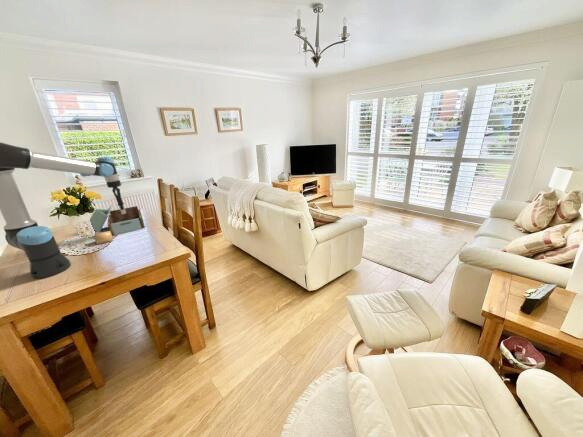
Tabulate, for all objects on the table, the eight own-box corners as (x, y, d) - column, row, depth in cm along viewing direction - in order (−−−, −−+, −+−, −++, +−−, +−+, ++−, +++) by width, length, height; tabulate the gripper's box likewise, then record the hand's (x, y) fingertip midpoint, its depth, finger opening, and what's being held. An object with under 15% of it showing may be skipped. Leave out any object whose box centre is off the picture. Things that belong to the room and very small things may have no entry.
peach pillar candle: (97, 246, 148) (93, 236, 146) (98, 242, 154) (94, 232, 151) (113, 242, 152) (109, 233, 150) (113, 238, 158) (109, 229, 155)
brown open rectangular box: (111, 236, 161) (105, 220, 156) (112, 226, 178) (107, 211, 173) (145, 229, 171) (140, 213, 166) (143, 220, 188) (138, 205, 183)
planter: (87, 222, 174) (99, 198, 175) (100, 225, 180) (112, 202, 180) (85, 229, 162) (98, 203, 162) (99, 233, 167) (112, 208, 167)
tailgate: (114, 235, 160) (110, 224, 157) (114, 234, 161) (110, 223, 158) (141, 229, 168) (138, 218, 165) (141, 228, 169) (138, 218, 166)
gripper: (119, 181, 154) (130, 215, 163) (119, 178, 164) (130, 209, 173) (105, 183, 150) (117, 217, 160) (106, 179, 160) (117, 212, 170)
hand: (124, 213), depth 166 cm, fingers closed
